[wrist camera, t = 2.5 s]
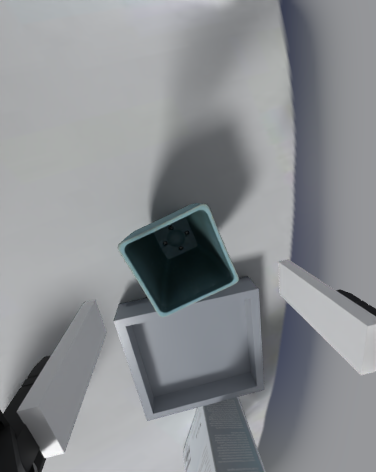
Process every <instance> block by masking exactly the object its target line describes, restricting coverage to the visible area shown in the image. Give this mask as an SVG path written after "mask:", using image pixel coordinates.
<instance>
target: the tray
mask: <svg viewBox="0 0 376 472" xmlns="http://www.w3.org/2000/svg"><path fill="white" fill-rule="evenodd" d="M114 324H115V327H116V330H117V333H118V336H119V339H120V342H121V345H122V348H123V351H124V354H125V357H126V360H127V363H128V366H129V368H130V371H131V374H132V377H133V380H134V383H135V386H136V389H137V392H138V395H139V398H140V401H141V404H142V407H143V410H144V413H145V416H146V419H147V421H149V420H153V419H157V418H160V417H164V416H168V415H172V414H175V413H179V412H183V411H187V410H190V409H194V408H198V407H201V406H205V405H209V404H213V403H216V402H220V401H224V400H228V399H231V398H235V397H239V396H243V395H246V394H250V393H254V392H257V391H261V390H264V373H263V355H262V338H261V320H260V302H259V288H258V287H257V286H256V285H255V284H254V283H253V281H252V280H251V279H250V278H249V277H248V276H246V277H242V278H239V281H238V282H237V283H235V284H234V285H232V286H230V287H228V288H226V289H223V290H221V291H219V292H217V293H215V294H212V295H210V296H208V297H206V298H204V299H202V300H200V301H197V302H196V303H193V304H191V305H189V306H187V307H185V308H183V309H181V310H179V311H177V312H175V313H173V314H171V315H169V316H166V317H160V316H159V315H158V314H157V312H156V310H155V309H154V307H153V305H152V304H151V302H150V300H149V299H148V298H145V299H141V300H136V301H131V302H127V303H122V304H119V305H118V308H117V312H116V315H115V318H114Z"/></svg>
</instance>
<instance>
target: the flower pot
mask: <svg viewBox="0 0 376 472" xmlns="http://www.w3.org/2000/svg"><path fill="white" fill-rule="evenodd" d="M169 226H173V228H172V229H169ZM185 231H188V232H189V233H188V234H185ZM164 241H166V242H167V244H166V245H164V243H163V242H164ZM180 246H182V247H183V249H182V250H180V249H179V247H180ZM118 250H119V252H120V254H121V256H122V257H123V259H124V260H125V262H126V263H127V265H128V267H129V268H130V270H131V271H132V273H133V274H134V276H135V278H136V279H137V281H138V283H139V284H140V286H141V287H142V289H143V291H144V292H145V294H146V296H147V297H148V299H149V300H150V302H151V304H152V305H153V307H154V309H155V310H156V312H157V314H158V315H159V316H160V317H166V316H169V315H171V314H173V313H175V312H177V311H179V310H181V309H183V308H185V307H187V306H189V305H191V304H193V303H196V302H197V301H200V300H202V299H204V298H206V297H208V296H210V295H212V294H215V293H217V292H219V291H221V290H223V289H226V288H228V287H230V286H232V285H234V284H235V283H237V282H238V281H239V277H238V275H237V272H236V270H235V268H234V266H233V263H232V261H231V259H230V257H229V254H228V252H227V250H226V247H225V245H224V242H223V240H222V238H221V235H220V233H219V230H218V228H217V225H216V223H215V220H214V218H213V216H212V212H211V210H210V208H209V206H208V205H207V204H199V203H195V204H190V205H188V206H186V207H184V208H182V209H180V210H178V211H176V212H174V213H172V214H170V215H168V216H165V217H163V218H161V219H159V220H157V221H155V222H153V223H151V224H149V225H147V226H144V227H142V228H140V229H138V230H136V231H134V232H133V233H131V234H130V235H129V236H128V237H126V238H125V239H124V240H123V241H122V242H121V243H120V244H119V245H118Z"/></svg>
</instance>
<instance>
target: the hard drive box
mask: <svg viewBox="0 0 376 472" xmlns="http://www.w3.org/2000/svg"><path fill="white" fill-rule="evenodd" d="M183 456H184V467H185V472H266V471H265V468H264V466H263V463H262V461H261V458H260V455H259V453H258V449H257V447H256V444H255V441H254V438H253V436H252V433H251V430H250V428H249V425H248V422H247V419H246V417H245V414H244V411H243V409H242V406H241V403H240V400H239V398H238V397H235V398H231V399H228V400H224V401H220V402H216V403H213V404H209V405H205V406H201V407H198V408H197V411H196V414H195V418H194V421H193V423H192V427H191V430H190V432H189V435H188V438H187V441H186V445H185V448H184V451H183Z"/></svg>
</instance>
